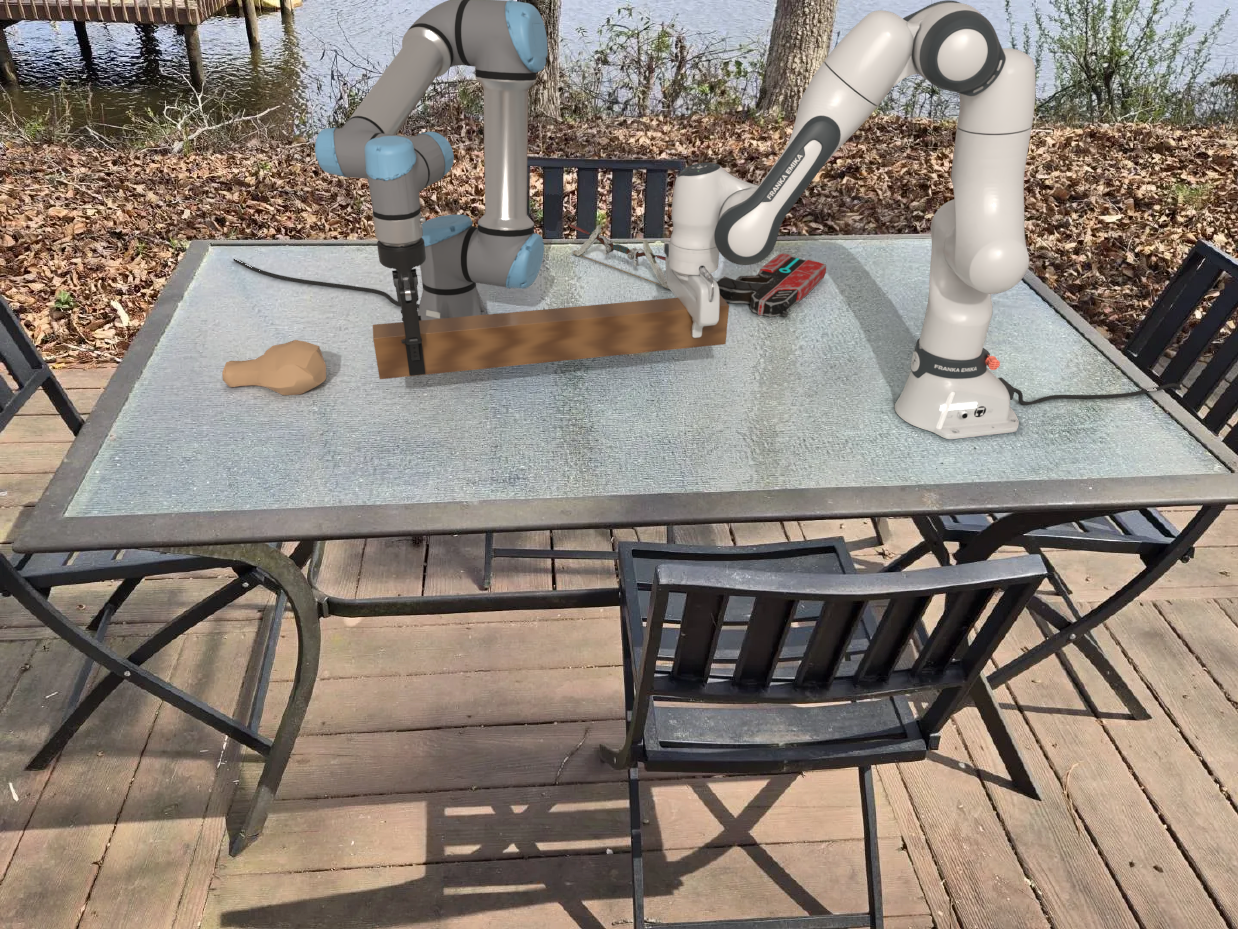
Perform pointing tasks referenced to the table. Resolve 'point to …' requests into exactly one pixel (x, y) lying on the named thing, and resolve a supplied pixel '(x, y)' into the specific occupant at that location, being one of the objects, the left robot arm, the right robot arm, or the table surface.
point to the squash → (280, 369)
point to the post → (545, 336)
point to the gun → (774, 285)
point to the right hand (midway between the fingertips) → (689, 328)
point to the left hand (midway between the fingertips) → (416, 365)
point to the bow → (631, 253)
